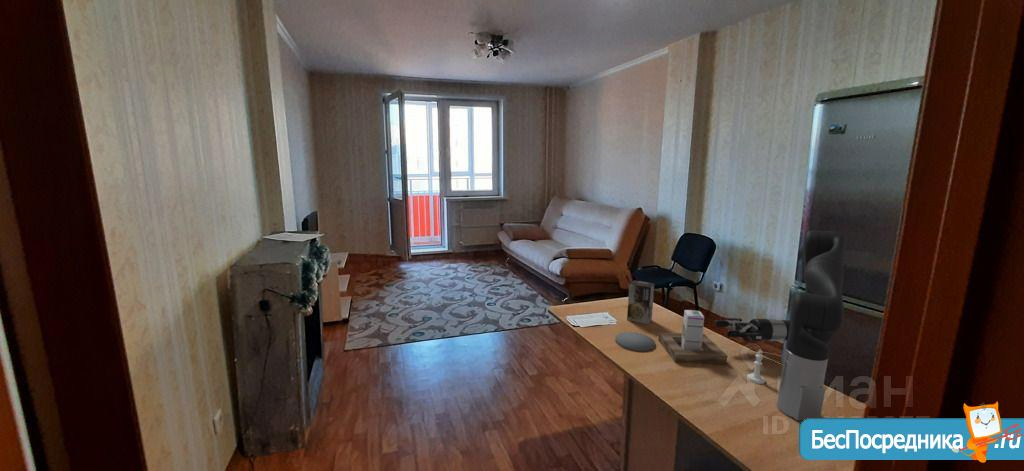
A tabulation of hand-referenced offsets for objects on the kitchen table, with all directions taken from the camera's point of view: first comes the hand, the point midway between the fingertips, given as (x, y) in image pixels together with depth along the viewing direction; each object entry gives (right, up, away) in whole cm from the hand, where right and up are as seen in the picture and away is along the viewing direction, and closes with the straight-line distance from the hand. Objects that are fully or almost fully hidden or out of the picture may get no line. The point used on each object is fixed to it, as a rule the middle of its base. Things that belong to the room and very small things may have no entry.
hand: (721, 328), depth 144 cm
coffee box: (-20, -3, +29) cm, 36 cm away
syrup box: (-10, -9, +2) cm, 14 cm away
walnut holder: (-10, -9, +2) cm, 13 cm away
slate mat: (-28, -7, +8) cm, 30 cm away
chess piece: (+3, -13, -16) cm, 21 cm away
